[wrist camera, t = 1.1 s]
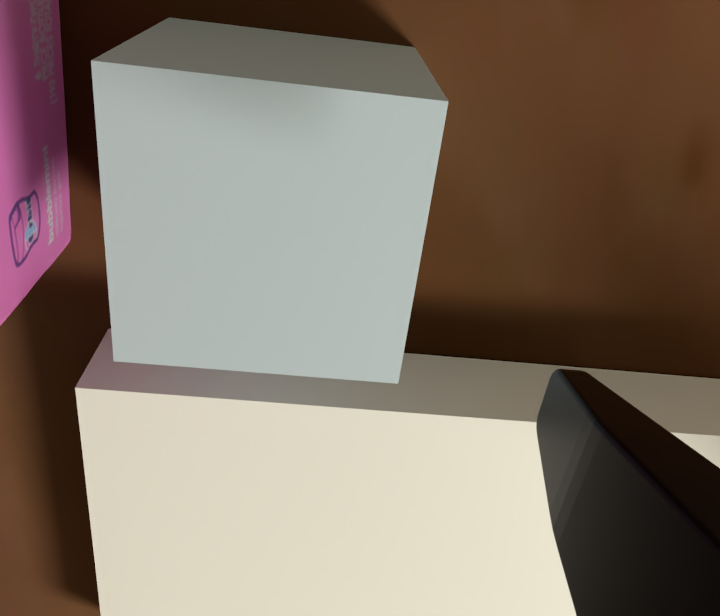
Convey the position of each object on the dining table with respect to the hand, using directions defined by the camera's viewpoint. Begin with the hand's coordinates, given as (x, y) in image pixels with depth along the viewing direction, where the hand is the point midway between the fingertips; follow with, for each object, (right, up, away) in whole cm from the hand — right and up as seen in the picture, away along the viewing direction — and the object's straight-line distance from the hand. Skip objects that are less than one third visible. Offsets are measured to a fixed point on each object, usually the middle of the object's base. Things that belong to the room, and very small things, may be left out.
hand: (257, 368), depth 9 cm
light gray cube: (-1, +5, +9) cm, 10 cm away
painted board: (+3, -7, +16) cm, 17 cm away
